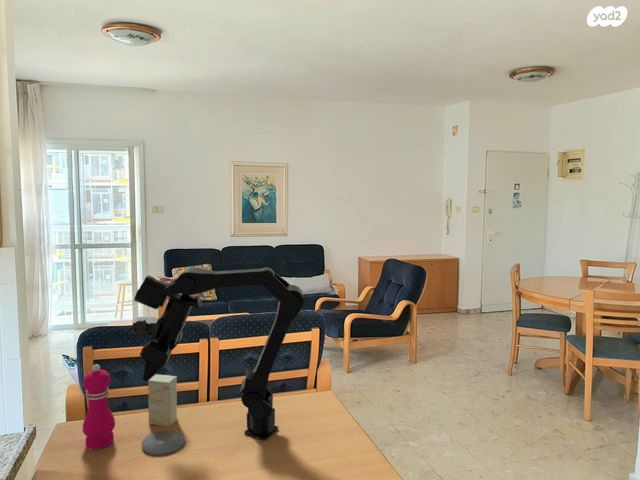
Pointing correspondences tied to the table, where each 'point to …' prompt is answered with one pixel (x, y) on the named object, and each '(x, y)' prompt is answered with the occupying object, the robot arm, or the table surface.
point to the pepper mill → (98, 410)
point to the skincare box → (162, 399)
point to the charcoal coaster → (163, 442)
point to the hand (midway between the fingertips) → (150, 372)
